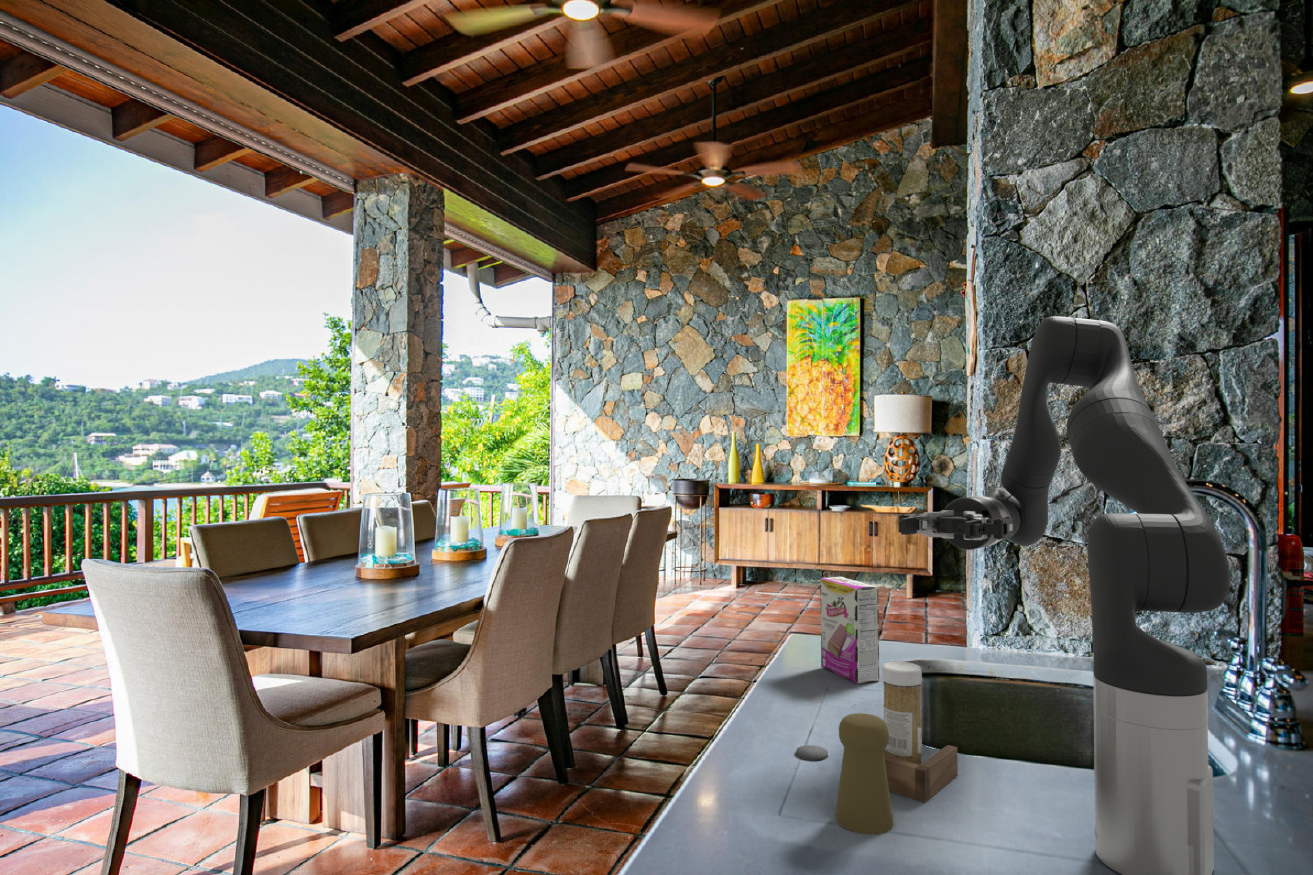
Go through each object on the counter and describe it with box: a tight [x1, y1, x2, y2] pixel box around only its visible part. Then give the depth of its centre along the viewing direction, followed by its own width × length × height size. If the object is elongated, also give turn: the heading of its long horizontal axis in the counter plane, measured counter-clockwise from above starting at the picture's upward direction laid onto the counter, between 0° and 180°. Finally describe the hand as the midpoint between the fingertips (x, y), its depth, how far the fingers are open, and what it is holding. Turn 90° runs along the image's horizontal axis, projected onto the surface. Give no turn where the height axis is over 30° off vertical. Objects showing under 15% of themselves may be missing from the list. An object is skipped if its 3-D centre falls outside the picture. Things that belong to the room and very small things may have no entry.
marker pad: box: [795, 744, 829, 761], centre depth 101 cm, size 4×4×1 cm
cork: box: [834, 712, 895, 836], centre depth 83 cm, size 6×6×11 cm
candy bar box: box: [819, 576, 880, 685], centre depth 137 cm, size 11×5×16 cm, turn 22°
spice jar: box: [881, 660, 923, 765], centre depth 94 cm, size 5×5×14 cm
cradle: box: [883, 744, 959, 803], centre depth 94 cm, size 9×9×4 cm
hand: (934, 528), depth 102 cm, fingers open, 8 cm apart
